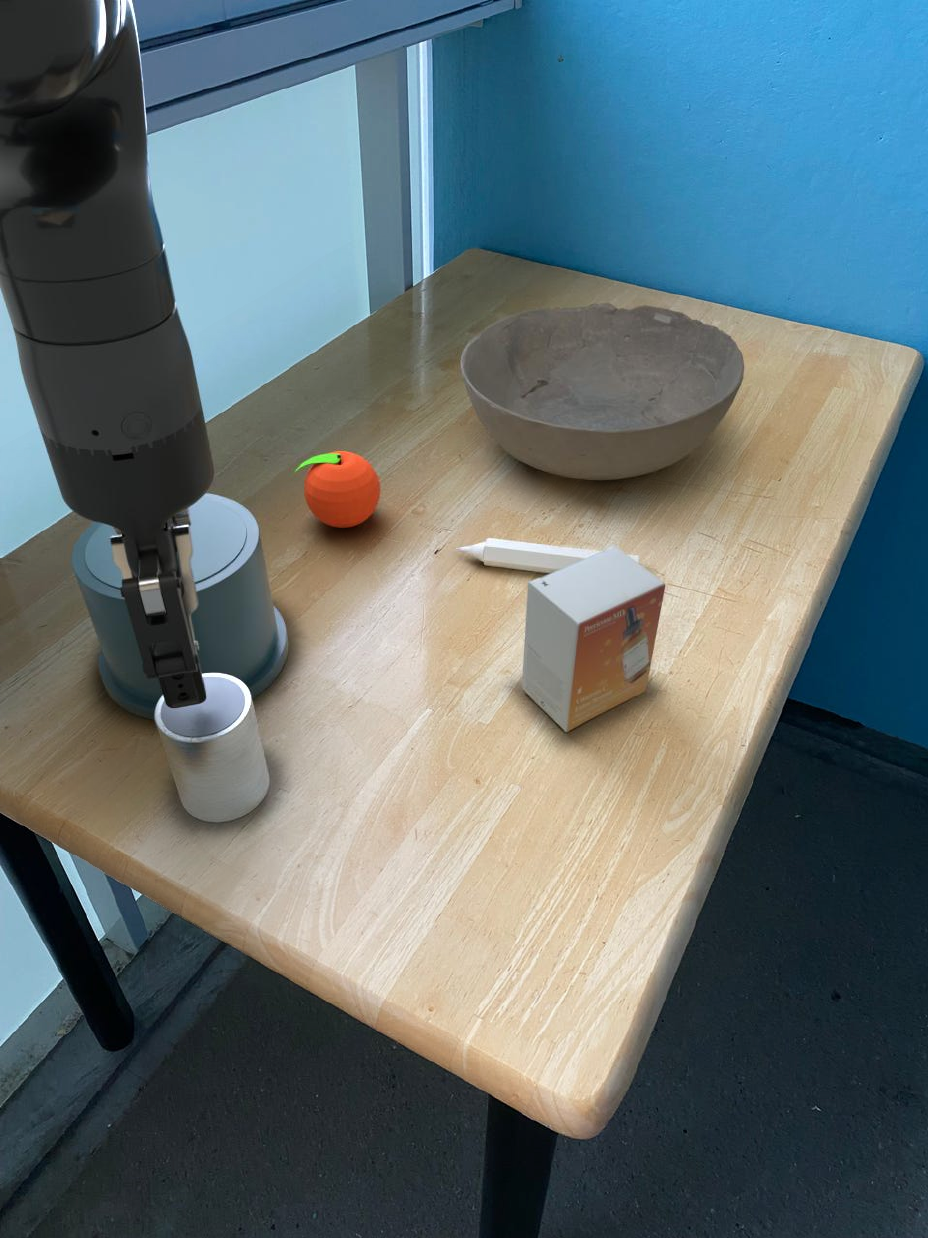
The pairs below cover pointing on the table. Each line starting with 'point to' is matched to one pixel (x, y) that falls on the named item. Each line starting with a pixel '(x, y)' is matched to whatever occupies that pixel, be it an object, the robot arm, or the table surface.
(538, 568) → the white pencil
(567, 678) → the small box
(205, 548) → the blue flanged cylinder
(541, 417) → the bowl
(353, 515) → the clementine
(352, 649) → the table surface
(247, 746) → the cup
